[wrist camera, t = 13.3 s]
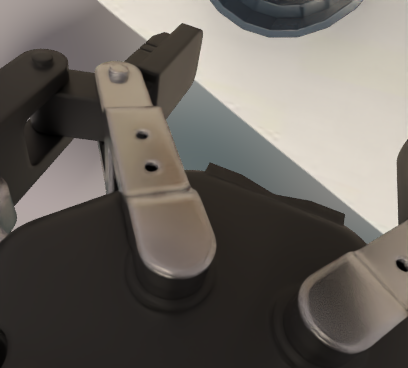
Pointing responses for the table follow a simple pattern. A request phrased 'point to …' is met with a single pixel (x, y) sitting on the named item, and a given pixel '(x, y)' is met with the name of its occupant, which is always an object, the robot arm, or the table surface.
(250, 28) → the basin
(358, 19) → the table surface
